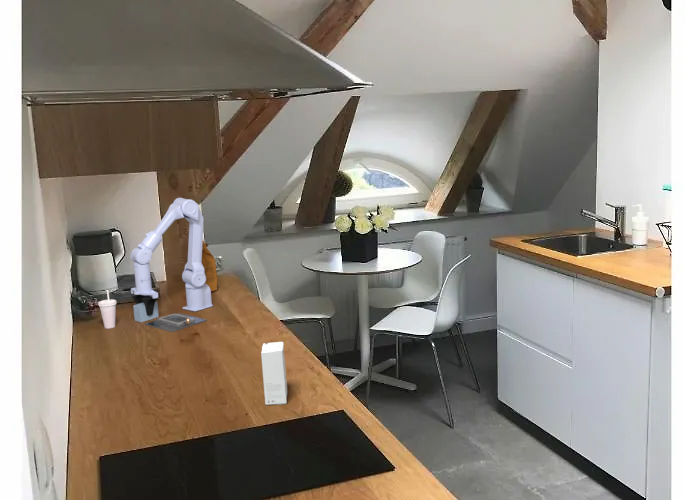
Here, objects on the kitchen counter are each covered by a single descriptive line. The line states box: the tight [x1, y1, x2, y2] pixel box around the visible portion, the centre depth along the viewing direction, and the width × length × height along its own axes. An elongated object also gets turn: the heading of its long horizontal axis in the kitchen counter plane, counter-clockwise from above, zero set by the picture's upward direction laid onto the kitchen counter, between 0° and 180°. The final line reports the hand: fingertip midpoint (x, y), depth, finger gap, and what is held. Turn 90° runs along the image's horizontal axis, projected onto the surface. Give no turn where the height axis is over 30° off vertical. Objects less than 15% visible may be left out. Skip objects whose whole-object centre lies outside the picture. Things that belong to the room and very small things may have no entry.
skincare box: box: [260, 341, 288, 406], centre depth 185 cm, size 8×6×15 cm
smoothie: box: [97, 289, 117, 329], centre depth 255 cm, size 6×6×14 cm
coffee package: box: [201, 240, 218, 292], centre depth 303 cm, size 10×12×22 cm
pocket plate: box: [145, 312, 208, 333], centre depth 258 cm, size 16×16×3 cm
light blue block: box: [133, 301, 160, 323], centre depth 264 cm, size 8×4×6 cm, turn 141°
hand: (146, 313), depth 264 cm, fingers closed on light blue block, 4 cm apart
